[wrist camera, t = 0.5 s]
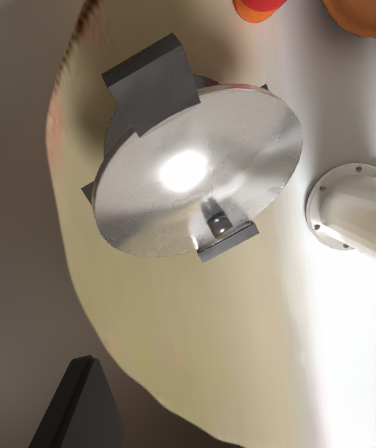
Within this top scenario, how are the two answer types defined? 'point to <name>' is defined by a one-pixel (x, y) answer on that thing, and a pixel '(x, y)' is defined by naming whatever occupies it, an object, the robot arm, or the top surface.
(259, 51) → the top surface
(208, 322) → the top surface
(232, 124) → the cooker lid
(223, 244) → the cooker pot
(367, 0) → the pie
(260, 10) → the paper cup
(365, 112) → the top surface
